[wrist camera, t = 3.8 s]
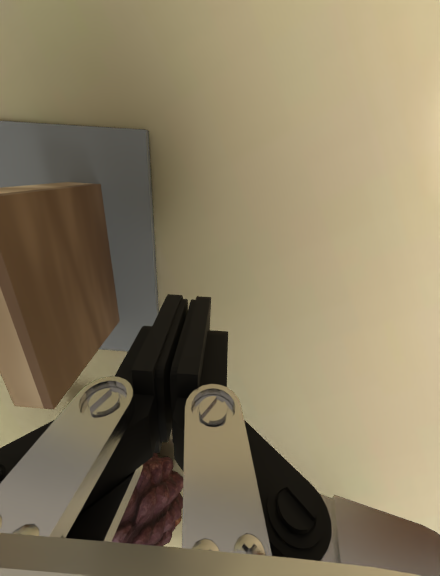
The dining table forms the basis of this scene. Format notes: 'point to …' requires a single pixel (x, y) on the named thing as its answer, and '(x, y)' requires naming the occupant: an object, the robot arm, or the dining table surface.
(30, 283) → the wooden block
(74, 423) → the robot arm
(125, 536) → the pine cone
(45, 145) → the mat
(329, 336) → the dining table surface
